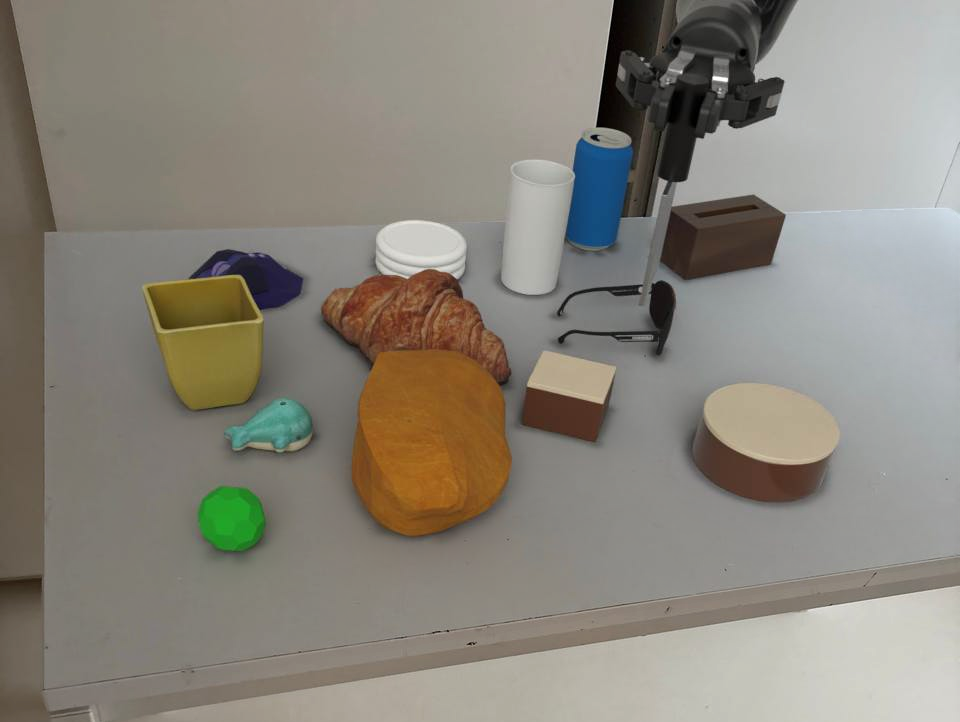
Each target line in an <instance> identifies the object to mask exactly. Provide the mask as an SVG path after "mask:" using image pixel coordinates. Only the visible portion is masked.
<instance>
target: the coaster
mask: <svg viewBox="0 0 960 722" xmlns="http://www.w3.org/2000/svg"><path fill="white" fill-rule="evenodd" d="M375 246H376V247H375V250H374V251H375V259H374V262H375V266H376V268H377V270H378V272H380V274H381V275H398V276H401V277H404V278H406V279H408V278H409V277H411V276H412V275H414V274H416V273H419V272H421V271H423V270H426V269H435V270H438V271H440V272H447V273H449V274H451V275H453V276H454V277H455V278H456V279H457V280H458V281H459V279H461V278H462V277H463V275H464V273H465V271H466V260H467V254H466V252H467V250H468V244H467V241H466V238H465V237H464V236H463V235H462V234H461V233H460V232H459V231H457V230H456V229H454V228H453V227H451V226H448V225H447V224H443V223H441V222H436V221H431V220H424V219H423V220H422V219H408V220H400V221H396V222H395V221H394V222H392V223H390V224H387V225H385V226H384V227H383V228H381V229H380V230H379V231H378V232H377V234H376V237H375Z"/></svg>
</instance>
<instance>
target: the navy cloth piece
mask: <svg viewBox="0 0 960 722" xmlns="http://www.w3.org/2000/svg"><path fill="white" fill-rule="evenodd" d="M227 275H241V276H242V277H243V278H244V280H245V282H246V285H247V287H248V289H249V291H250V293H251V296H252V298H253V300H254V302H255V303H256V305H257V307H258V309H259V310H266V309H273V308H279V307H280V308H281V307H282V306H284V305H285V304H287V303H288V302H290V301H291V300H293V299H294V298H296V297H298V296H299V295H300V294H301V291H302V286H303V283H304V278H303V277H302V276H300V275H298V274H297V273H295V272H293V271H291V270H289V269H288V268H286V266H283V265H282V264H281V263H279V262H278V261H277V260H276V259H274V258H273V257H272V256H270V254H267V253H262V252H257V251H256V252H244V251H240V250H234V249H231V248H226V249H221V250H217V251H216V252H214V254H213V255H211V257H209V258H208V259H207V260H206V261H205V262H204V263H203V264H201V266H200V267H199V268H197V269H196V270H195V271H194V272H193V273H192V274H191V275H190V276H189V277H188V278H187V280H189V279H198V278H208V277H218V276H227Z"/></svg>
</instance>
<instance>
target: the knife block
mask: <svg viewBox="0 0 960 722" xmlns="http://www.w3.org/2000/svg"><path fill="white" fill-rule="evenodd" d="M786 216H787V214H785V213H784V212H783V211H781V210H779V209H778V208H776V207H775V206H773V205H771V204H770V203H768V202H767V201H765V200H764V199H762V198H760V197H759V196H757V195H755V194H747V195H740V196H733V197H728V198H726V197H725V198H721V199H714V200H713V199H712V200H708V201H701V202H700V201H699V202H694V203H687V204H679V205H672V207H671V212H670V216H669V221H668V226H667V230H666V235H665V239H664V244H663V249H662V253H661V258H660V263H662V264H663V265H665V266H666V267H667V268H669V269H670V270H671V271H673V272H674V273H675V274H676V275H678V276H679V277H680V278H682V279H683V280H685V281H689V280H693V279H699V278H704V277H709V276H715V275H721V274H727V273H732V272H736V271H742V270H748V269H754V268H757V267H762V266H768V265H769V266H770V265H772V263H773V259H774V255H775V253H776V249H777V246H778V242H779V239H780V236H781V233H782V230H783V226H784V224H785V220H786Z"/></svg>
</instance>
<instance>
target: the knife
mask: <svg viewBox="0 0 960 722" xmlns="http://www.w3.org/2000/svg"><path fill="white" fill-rule="evenodd" d="M708 85H709V80H708V79H707V78H705V77H703V76H700V75H697V74H688V73H686V74H680V75H678V76H677V79H676V84H675V89H674V95H673V100H672V105H671V110H670V115H669V119H668V123H667V125H666V127H665V134H664V139H663V143H662V149H661V153H660V158H659V163H658V168H657V173H656V174H657V176H658V178H660V179H662V180H664V181H666V185H665V187H664V189H663V192H662V194H661V197H660V202H659V206H658V213H657V216H656V222H655V226H654V230H653V236H652V242H651V244H650V245H651V246H650V250H649V255H648V260H647V265H646V268H645V273H644V278H643V283H642V284H643V288H642V293H641V295H640V298H639V303H638V305H639V306H641V307H645V304H646V301H647V299H648V296H649V294H648V293H649V290H650V288H651V285H652V283H654V279H655V277H656V274H657V271H658V269H659V266H660V263H661V261H660V258H661V253H662V249H663V244H664V239H665V235H666V230H667V226H668V221H669V216H670V212H671V207H673V202H674V198H675V193H676V188H677V185H678V184H677V183H683V182H686V181H688V178H689V173H690V169H691V165H692V162H693V161H692V160H693V156H694V151H695V147H696V142H697V139H698V138H696V137H694V136H695V131H696V127H697V122H698V118H699V113H700V109H701V106H702V103H703V101H704V98H705V96H706V94H707V90H708Z"/></svg>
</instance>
